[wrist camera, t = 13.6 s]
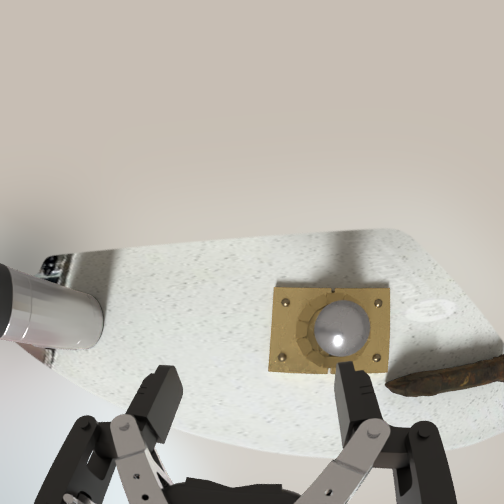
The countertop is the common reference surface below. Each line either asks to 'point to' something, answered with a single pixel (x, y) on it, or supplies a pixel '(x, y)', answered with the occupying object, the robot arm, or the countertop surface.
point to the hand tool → (449, 378)
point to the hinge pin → (342, 328)
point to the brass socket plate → (303, 338)
